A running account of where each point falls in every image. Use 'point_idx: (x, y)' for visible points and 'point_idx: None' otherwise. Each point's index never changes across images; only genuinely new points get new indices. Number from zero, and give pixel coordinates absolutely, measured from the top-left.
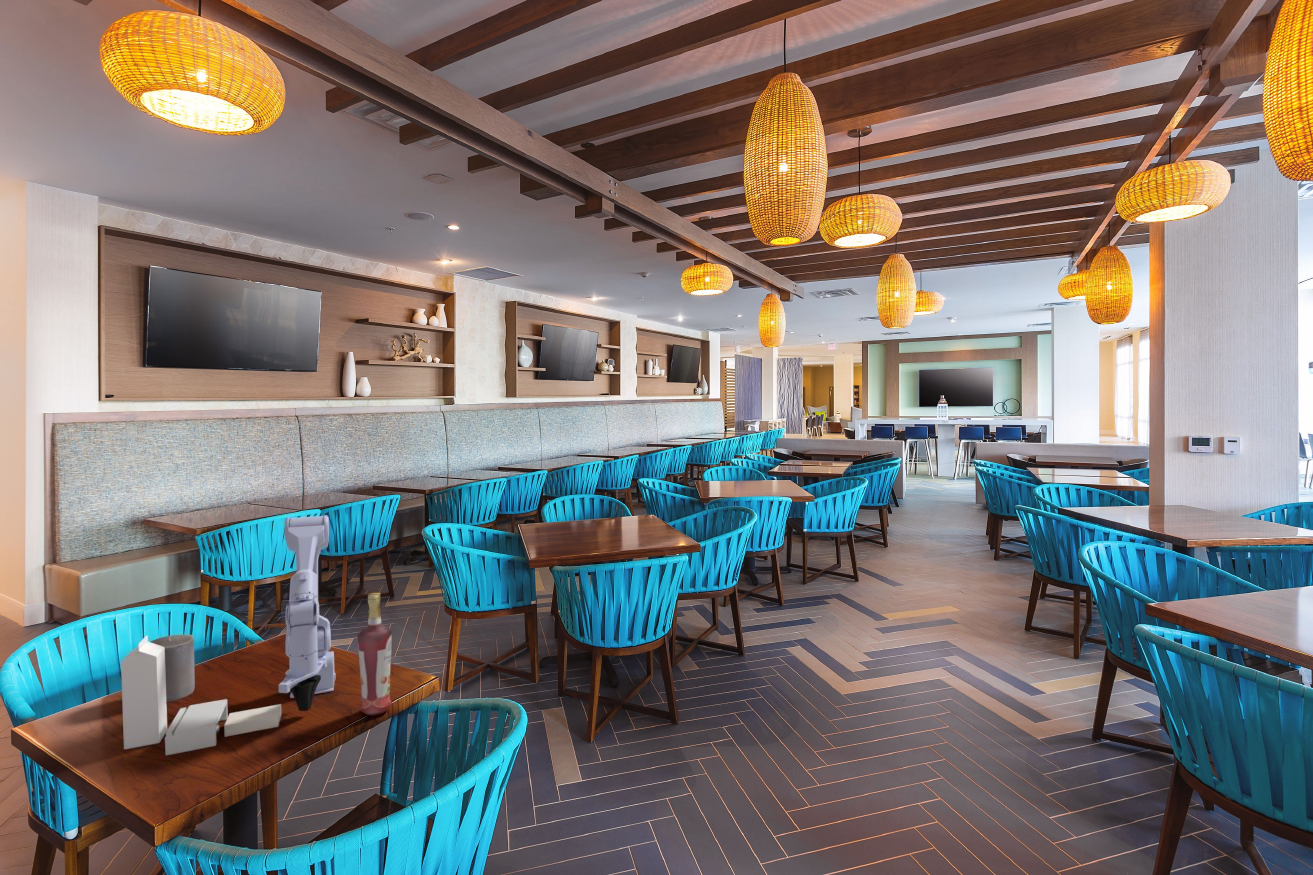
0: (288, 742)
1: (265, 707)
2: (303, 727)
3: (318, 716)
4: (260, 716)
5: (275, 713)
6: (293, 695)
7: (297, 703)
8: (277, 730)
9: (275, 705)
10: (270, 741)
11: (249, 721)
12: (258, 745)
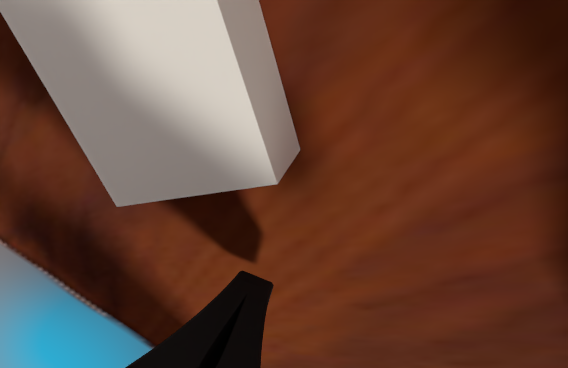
0: (70, 239)
1: (222, 63)
2: (164, 270)
3: None
4: (86, 92)
5: (136, 184)
6: (148, 352)
7: (212, 303)
8: None
9: (257, 144)
10: (57, 179)
11: (19, 33)
12: (21, 143)
